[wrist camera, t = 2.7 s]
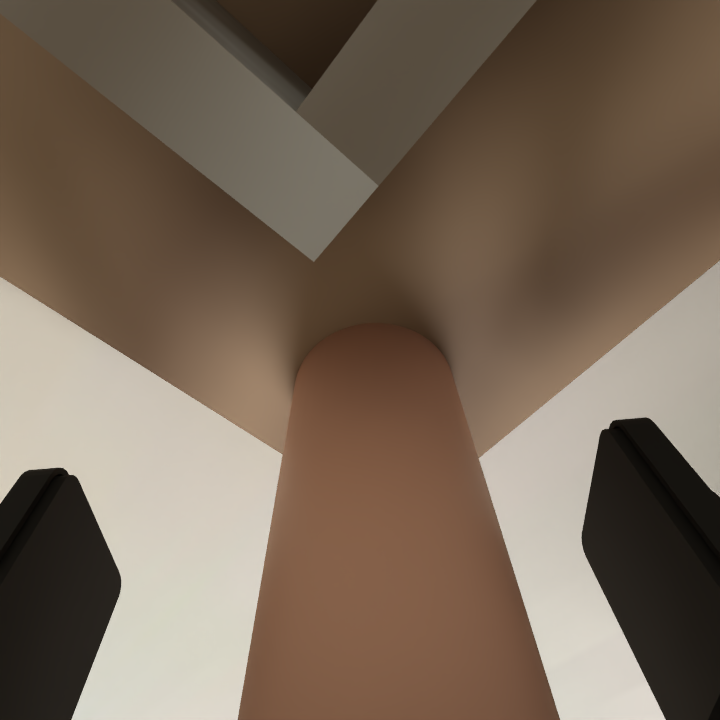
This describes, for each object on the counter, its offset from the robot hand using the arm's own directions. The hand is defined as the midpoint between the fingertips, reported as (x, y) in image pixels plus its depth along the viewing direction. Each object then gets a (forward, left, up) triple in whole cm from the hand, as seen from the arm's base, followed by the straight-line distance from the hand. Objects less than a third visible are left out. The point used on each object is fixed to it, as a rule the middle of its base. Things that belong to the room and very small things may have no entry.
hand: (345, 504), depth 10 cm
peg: (-1, 0, -4) cm, 4 cm away
